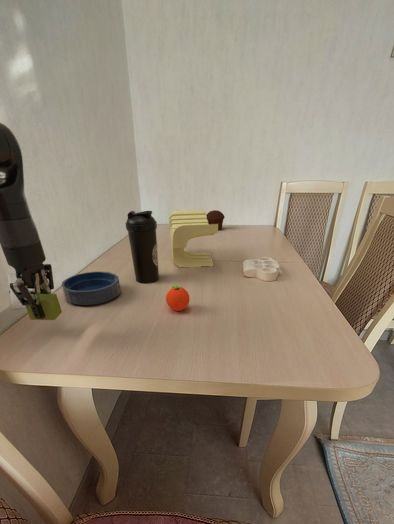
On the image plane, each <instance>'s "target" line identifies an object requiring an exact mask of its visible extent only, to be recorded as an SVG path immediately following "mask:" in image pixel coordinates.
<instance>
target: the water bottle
mask: <svg viewBox="0 0 394 524" xmlns="http://www.w3.org/2000/svg"><path fill="white" fill-rule="evenodd" d="M152 214H153V211H152V210H144V211H139V212H135V210H131V211H129V212H128V213H127V219H126V222H125V229H126V231H127V235H128V240H129V241H128V242H129V247H130V253H131V258H132V265H133V270H134V276H135V281H136V282H137V283H139V284H152V283H157V282H158V281H159V280H160V276H159V275H160V274H159V273H160V272H159V253H158V252H159V251H158V238H157V237H158V236H157V228H158V223H157V221H156V219H155V218H154V216H152Z"/></svg>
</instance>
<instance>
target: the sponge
mask: <svg viewBox="0 0 394 524" xmlns="http://www.w3.org/2000/svg"><path fill="white" fill-rule="evenodd" d="M31 296H32V298H33V299H34V295H33V294H31ZM39 298H40V303H41V305H42V308H43V311H44V314H45V318H44V319H36V318H35V317H34V315H33V312H32V309H31V307H30V305H25V309H26V311H27V315H28V317H29V320H30V321H55V320H56V319H57V318H58V317H60V315H61V314H62V312H63V311H62V308H61V304H60V301H59V298H58V294H57V293H51V294H39ZM25 300H26V298H25Z"/></svg>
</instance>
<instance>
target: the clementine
mask: <svg viewBox="0 0 394 524" xmlns="http://www.w3.org/2000/svg"><path fill="white" fill-rule="evenodd" d="M190 301H191V299H190V294H189V292H188V291H187V289H185V288H184V287H182V286H178V285H173V286H172V287H171V288H170V289H169V290H168V292H167V293H166V296H165V302H166V304H167V307H169V308H170V309H171V310H173V311H175V312H180V311H183V310H185V309H186V308H187V307H188V306H189V304H190Z"/></svg>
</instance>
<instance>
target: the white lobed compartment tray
mask: <svg viewBox="0 0 394 524" xmlns="http://www.w3.org/2000/svg"><path fill="white" fill-rule="evenodd" d="M280 267H282V265H280V264H279V262H278V261H277V260H274V258H273V257H269V256H260V257H258V258H255V259H254V258H253V259H251V258H250V259H246V260H244V261H242V271H243V275H244V276H245V277H247V278H256V279H259V280H260V281H263V282H274V281H276V280H277V278H278V277H279V274H281V273H283V272H284V271H283V270H282V269H280Z"/></svg>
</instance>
